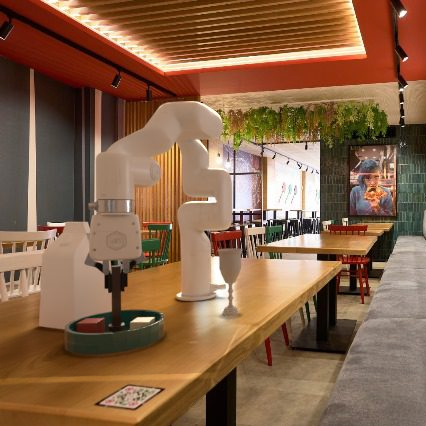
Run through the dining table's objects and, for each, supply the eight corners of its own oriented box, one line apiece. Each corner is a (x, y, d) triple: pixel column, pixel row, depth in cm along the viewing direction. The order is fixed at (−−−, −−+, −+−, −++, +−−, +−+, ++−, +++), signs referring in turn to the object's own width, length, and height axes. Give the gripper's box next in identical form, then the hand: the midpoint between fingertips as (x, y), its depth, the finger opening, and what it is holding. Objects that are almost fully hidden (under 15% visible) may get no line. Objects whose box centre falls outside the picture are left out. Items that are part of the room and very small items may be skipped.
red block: (105, 335, 90) (104, 317, 90) (95, 341, 86) (95, 323, 86) (86, 335, 90) (86, 318, 90) (76, 341, 86) (76, 323, 86)
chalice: (220, 312, 112) (219, 248, 112) (244, 311, 112) (244, 248, 112) (215, 319, 105) (215, 251, 104) (241, 318, 105) (241, 251, 105)
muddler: (124, 326, 90) (123, 264, 90) (125, 330, 88) (124, 266, 88) (108, 329, 89) (107, 265, 89) (108, 332, 86) (108, 267, 86)
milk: (114, 320, 105) (113, 221, 104) (75, 333, 94) (73, 223, 93) (80, 316, 109) (79, 221, 108) (38, 328, 98) (37, 222, 97)
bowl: (158, 323, 102) (158, 305, 101) (171, 346, 84) (171, 325, 84) (67, 335, 92) (67, 316, 92) (61, 364, 75) (61, 340, 75)
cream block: (129, 340, 86) (129, 322, 86) (137, 334, 90) (137, 317, 90) (148, 340, 87) (148, 321, 87) (155, 334, 91) (155, 316, 90)
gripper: (72, 208, 81) (73, 298, 81) (156, 208, 89) (156, 290, 89) (74, 208, 87) (75, 292, 88) (151, 208, 95) (152, 285, 95)
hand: (116, 290), depth 88 cm, fingers closed on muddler
